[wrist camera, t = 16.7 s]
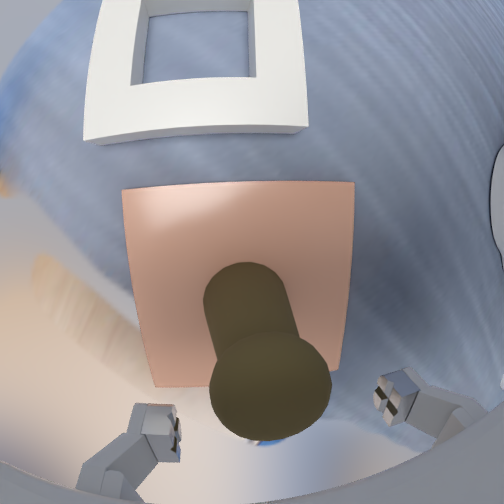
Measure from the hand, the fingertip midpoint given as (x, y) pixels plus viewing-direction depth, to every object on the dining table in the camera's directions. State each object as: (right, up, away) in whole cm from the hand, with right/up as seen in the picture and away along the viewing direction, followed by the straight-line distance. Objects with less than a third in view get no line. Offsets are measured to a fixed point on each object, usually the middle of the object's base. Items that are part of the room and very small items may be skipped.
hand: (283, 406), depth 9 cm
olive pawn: (-2, +2, +11) cm, 11 cm away
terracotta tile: (-2, +3, +11) cm, 11 cm away
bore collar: (-5, +20, +6) cm, 21 cm away
